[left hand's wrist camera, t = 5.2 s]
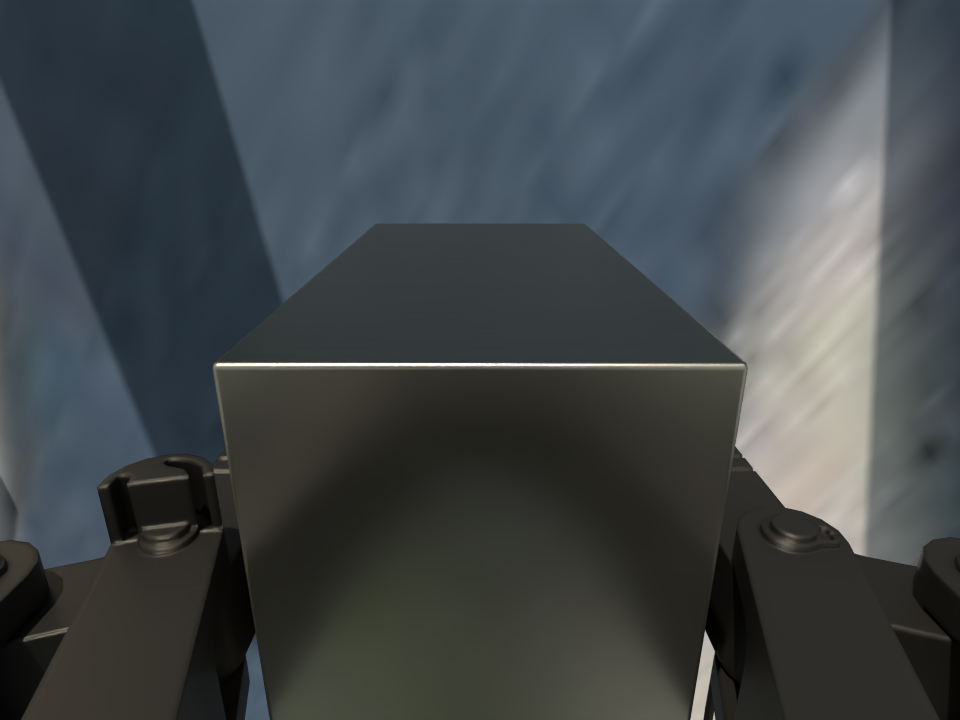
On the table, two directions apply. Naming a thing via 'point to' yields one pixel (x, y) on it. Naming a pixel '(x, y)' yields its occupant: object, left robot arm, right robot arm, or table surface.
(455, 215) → the table surface
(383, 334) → the bar
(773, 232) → the table surface
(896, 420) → the table surface
